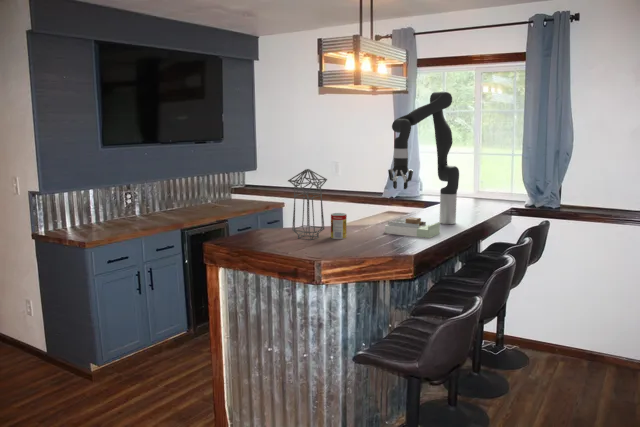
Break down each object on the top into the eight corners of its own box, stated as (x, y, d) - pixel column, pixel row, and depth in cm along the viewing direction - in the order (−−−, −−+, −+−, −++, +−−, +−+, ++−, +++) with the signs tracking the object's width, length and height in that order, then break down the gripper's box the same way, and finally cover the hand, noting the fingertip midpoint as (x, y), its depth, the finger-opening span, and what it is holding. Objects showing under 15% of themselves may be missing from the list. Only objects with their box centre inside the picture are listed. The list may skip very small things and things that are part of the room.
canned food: (345, 236, 283) (345, 212, 281) (347, 239, 275) (347, 215, 273) (330, 236, 283) (330, 213, 281) (331, 239, 275) (331, 215, 273)
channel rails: (396, 222, 299) (396, 218, 299) (425, 225, 290) (425, 221, 290) (388, 225, 291) (388, 221, 290) (418, 228, 282) (418, 224, 281)
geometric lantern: (329, 237, 280) (329, 168, 274) (313, 243, 267) (312, 171, 261) (303, 233, 288) (302, 166, 282) (286, 239, 275) (285, 169, 269)
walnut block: (410, 224, 293) (410, 217, 292) (420, 225, 289) (420, 218, 289) (405, 226, 288) (405, 218, 287) (416, 227, 284) (416, 219, 284)
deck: (395, 228, 302) (396, 218, 301) (439, 233, 289) (439, 222, 288) (384, 233, 290) (384, 221, 289) (429, 238, 277) (429, 226, 276)
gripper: (416, 157, 293) (415, 189, 296) (391, 156, 301) (391, 187, 303) (410, 157, 287) (409, 190, 289) (385, 157, 294) (385, 188, 297)
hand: (400, 188), depth 296 cm, fingers open, 5 cm apart
